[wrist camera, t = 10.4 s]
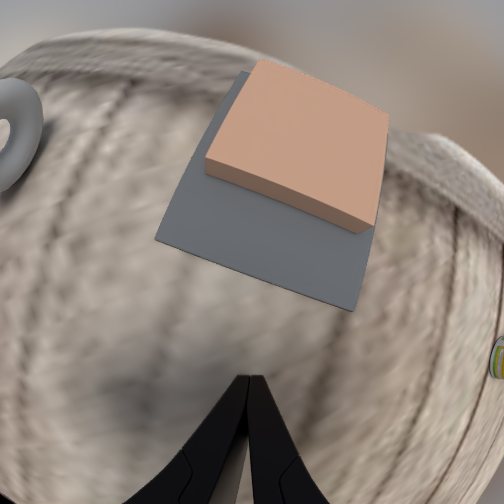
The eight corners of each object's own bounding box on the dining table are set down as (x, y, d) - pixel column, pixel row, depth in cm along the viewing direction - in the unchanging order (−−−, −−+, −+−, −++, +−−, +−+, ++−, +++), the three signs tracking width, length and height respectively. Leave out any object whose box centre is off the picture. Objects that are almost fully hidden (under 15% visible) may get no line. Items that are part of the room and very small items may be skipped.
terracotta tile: (374, 226, 17) (388, 115, 20) (205, 157, 17) (260, 58, 19) (356, 234, 20) (375, 129, 22) (205, 174, 19) (255, 77, 21)
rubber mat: (351, 311, 19) (354, 311, 19) (155, 239, 18) (154, 238, 18) (386, 135, 23) (388, 133, 22) (241, 73, 22) (241, 70, 21)
